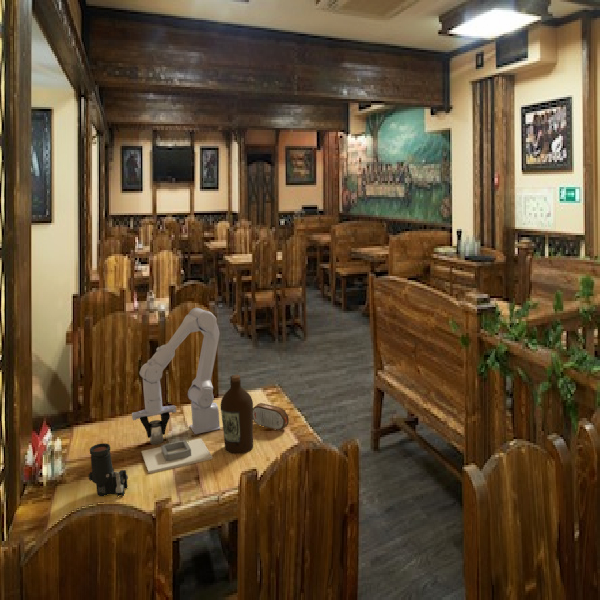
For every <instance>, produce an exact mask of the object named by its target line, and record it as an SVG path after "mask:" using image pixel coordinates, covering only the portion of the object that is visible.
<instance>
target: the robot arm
mask: <svg viewBox="0 0 600 600" xmlns="http://www.w3.org/2000/svg"><path fill="white" fill-rule="evenodd" d="M217 321H218V318H217V317H216V316H215V314H213V313H212V312H211V311H209V310H205V309H202V308H200V307H194V308H192V309H191V310H190V311H189V313H188V314H186V315H185V316H184V319H183V321H182V322H181V324H180V325H179V326H178V328H177V329H176V331H175V332H174V334H173V335H172V336H171V338H169V340H168V342H167V343H166V344H163V345H161V346H158V347H157V348H156V351H155V353H154V354H153V355H152V357H151V358H150V359H147V362H146V363H144V364H143V365H142V366H140V367H141V368H140V370H139V372H138V373H139V376H140V377H141V378H142V388H143V397H144V398H143V400H144V409H142V410H139V411H136V412H131V419H132V420H133V421H137V420H138V419H139V420H140V422H141V425H143V428H144V429H145V432H146V435H147V439H150V431H149V422H150V421H149V417H154V416H160V418H161V419H160V421H162V430H163V436H165V435H166V430H167V429H166V428H167V426H168V423H169V420H170V418H171V415H170V414H171V413H173V414H174V413H177V406H176V405H165V406H163V398H162V386H161V379H162V378H163V371H164V370H165V369H166V368H167V366H168V365H169V363H170V362H171V361H172V360H173V359H174V357H175V356H176V350H177V348H178V347H179V346H180V345H181V344H182V343H183V341H184V340H186V338H187V337H188V336H190V335H189V334H191V333H196V332H201V334H202V335H203V339H202V344H201V350H200V354H199V355H200V356H199V359H198V366H197V369H196V370H197V371H196V377H195V378H194V379H193V380H192V382H191V386H190V387H189V389H188V390H187V397H188V399H189V401H190V406H191V408H190V409H191V423H192V424H189V427H190V429H191V431H192V432H193V434H194V435H198V434H203V433H207V432H212V431H216V430H221V427H220V426H221V425H220V413H219V411H220V410H219V407H218V404H217V402H214V400H215V398H214V393H213V392H214V391H213V390H214V386H213V384H212V376H213V371H214V367H215V362H216V355H217V349H218V343H219V339H220V329H219V326H218V322H217Z"/></svg>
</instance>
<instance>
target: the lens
mask: <svg viewBox="0 0 600 600" xmlns="http://www.w3.org/2000/svg"><path fill="white" fill-rule="evenodd" d="M149 431H150V438H149V442H150V443H149V444H151V445H160V444H162V443H164V435H163V430H162V421H161V419H154V420H151V421H149Z"/></svg>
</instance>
